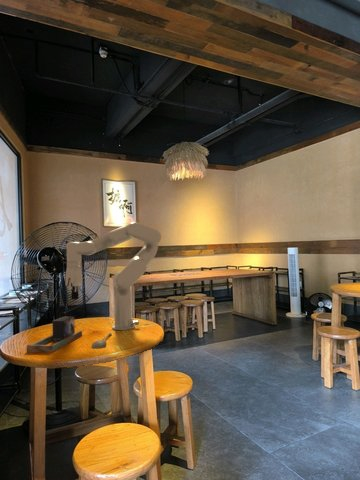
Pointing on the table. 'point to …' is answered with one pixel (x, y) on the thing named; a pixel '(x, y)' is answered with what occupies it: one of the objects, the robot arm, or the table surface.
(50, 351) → the chute
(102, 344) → the soupspoon
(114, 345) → the table surface
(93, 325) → the table surface
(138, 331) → the table surface
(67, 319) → the small box
